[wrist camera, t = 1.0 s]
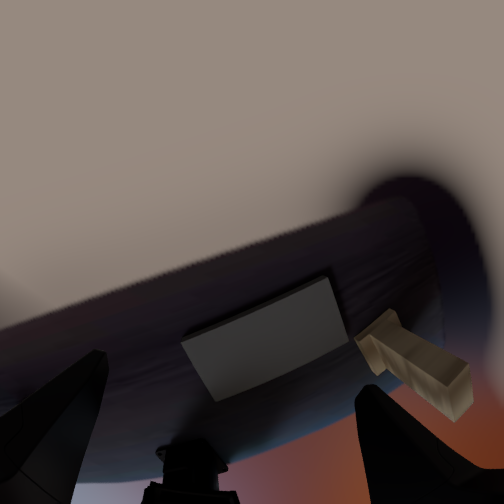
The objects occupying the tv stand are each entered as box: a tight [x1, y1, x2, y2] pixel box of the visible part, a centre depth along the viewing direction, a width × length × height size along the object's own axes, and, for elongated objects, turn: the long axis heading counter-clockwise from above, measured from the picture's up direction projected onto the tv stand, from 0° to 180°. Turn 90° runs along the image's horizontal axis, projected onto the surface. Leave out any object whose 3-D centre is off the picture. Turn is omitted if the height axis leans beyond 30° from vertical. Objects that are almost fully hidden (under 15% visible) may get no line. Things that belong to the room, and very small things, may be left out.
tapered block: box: [354, 308, 473, 422], centre depth 21 cm, size 6×5×13 cm
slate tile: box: [181, 275, 349, 402], centre depth 25 cm, size 7×14×1 cm, turn 113°
